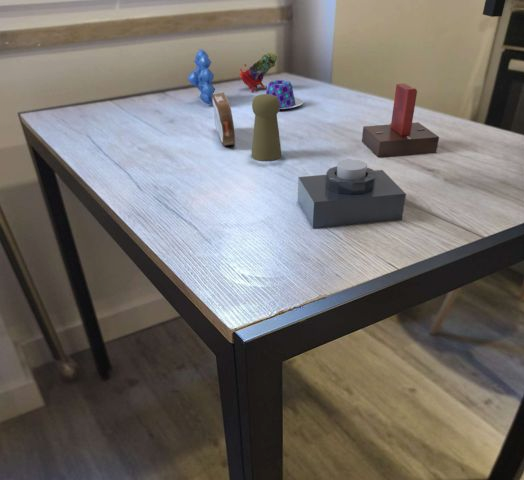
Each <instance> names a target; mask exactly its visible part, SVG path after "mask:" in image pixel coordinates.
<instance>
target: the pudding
mask: <svg viewBox="0 0 524 480" xmlns="http://www.w3.org/2000/svg"><path fill="white" fill-rule="evenodd" d="M265 94H271V95H275V96H276V97H277V98H278V100H279V103H280V108H279V111H280V110H289V109H293V108H297V107H299V106H301V105H303V104H304V100H303V99H301V98H298V97H297V96H296V97H295V94H294V89H293V85H292V83H291V82H290V81H289V80H285V79H284V80H282V79H281V80H279V79H278V80H271V81H270V82H268V84H267V86H266V91H265Z"/></svg>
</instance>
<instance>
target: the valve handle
mask: <svg viewBox="0 0 524 480" xmlns="http://www.w3.org/2000/svg"><path fill="white" fill-rule="evenodd" d="M417 96H418V90H417V88H416V87H412V86H410V85H408V84H406V83H405V82H404V83H396V85H395V93H394V100H393V106H392V115H391V121H390V123H391V128H392V129H394V130H395V131H396V132H397V133H399V134H400V135H401V136H409V135H410V133H411V127H412V123H413V120H414V115H415V114H414V113H415V108H416V103H417V102H416V100H417Z"/></svg>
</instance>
